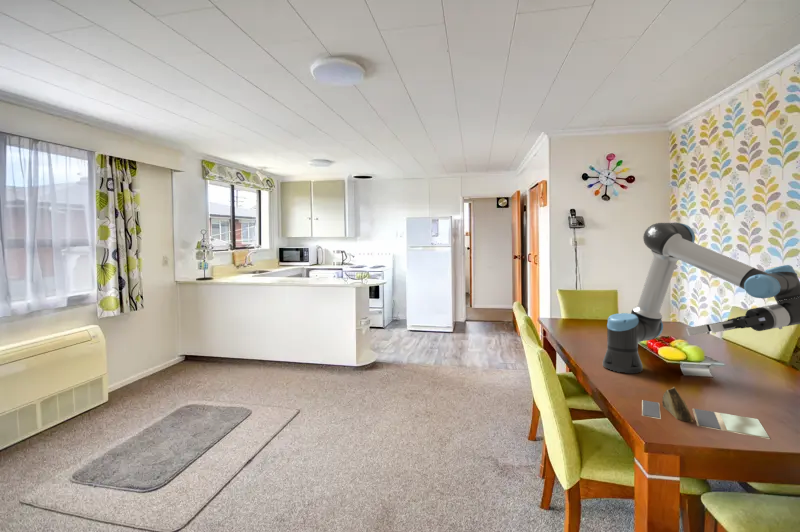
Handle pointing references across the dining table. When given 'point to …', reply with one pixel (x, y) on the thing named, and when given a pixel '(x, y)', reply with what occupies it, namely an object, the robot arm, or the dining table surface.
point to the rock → (676, 405)
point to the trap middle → (707, 418)
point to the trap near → (651, 409)
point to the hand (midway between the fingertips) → (698, 330)
